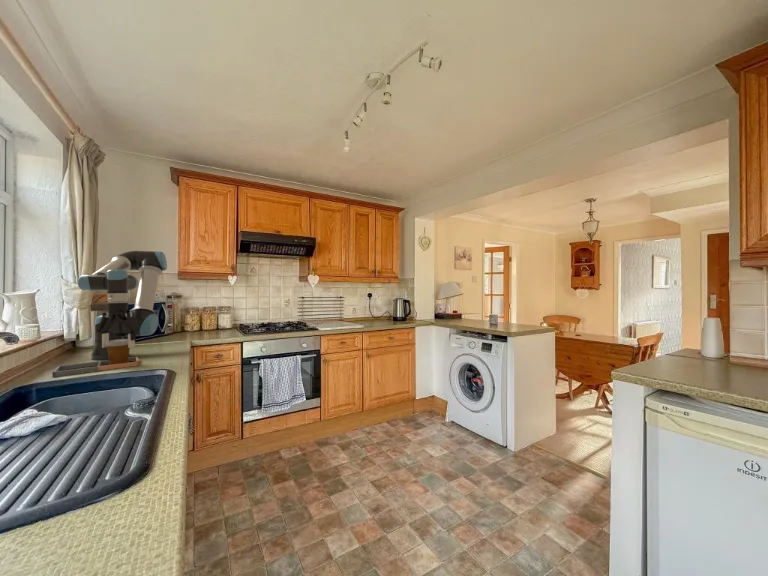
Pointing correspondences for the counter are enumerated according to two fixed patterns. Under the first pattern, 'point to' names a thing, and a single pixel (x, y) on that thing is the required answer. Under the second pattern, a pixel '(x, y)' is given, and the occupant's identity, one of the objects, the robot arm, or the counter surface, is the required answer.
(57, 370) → the cup carrier
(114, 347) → the disposable coffee cup
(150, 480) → the counter surface
